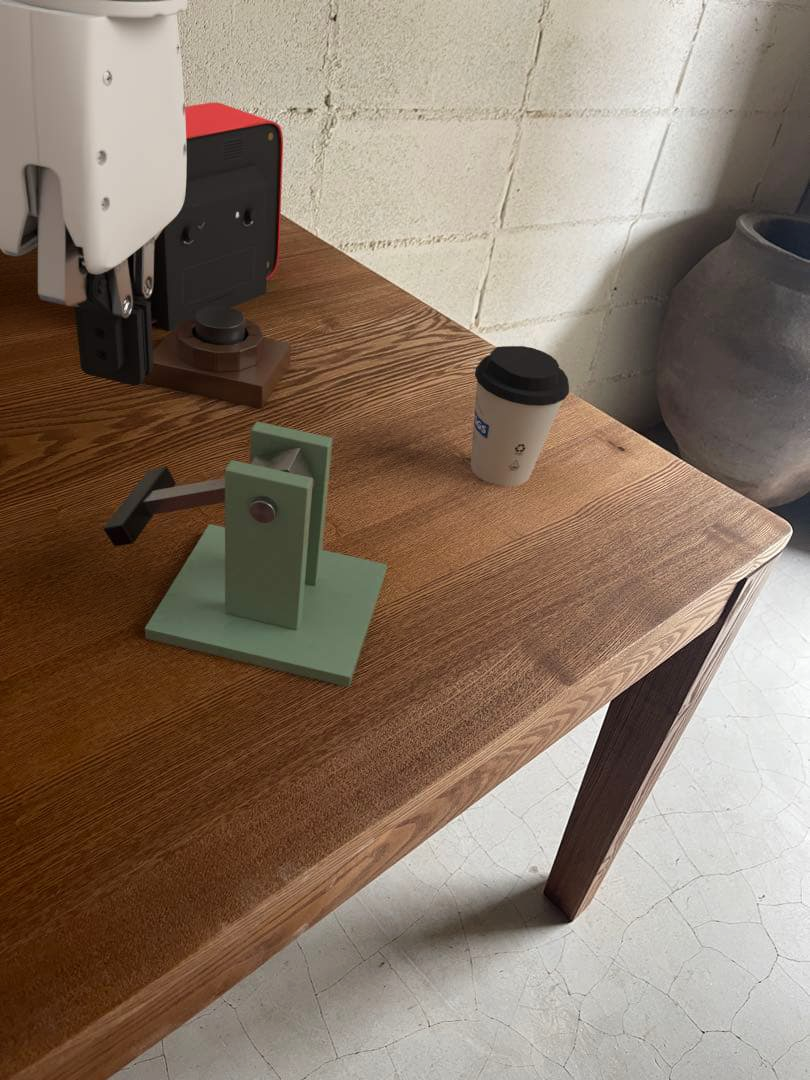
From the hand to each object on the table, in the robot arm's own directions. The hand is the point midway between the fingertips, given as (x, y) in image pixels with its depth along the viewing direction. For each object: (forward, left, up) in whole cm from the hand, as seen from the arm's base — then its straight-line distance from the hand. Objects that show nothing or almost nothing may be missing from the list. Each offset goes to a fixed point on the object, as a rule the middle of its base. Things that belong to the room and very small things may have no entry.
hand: (117, 372), depth 45 cm
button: (-4, +26, -11) cm, 28 cm away
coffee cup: (+21, +20, -15) cm, 32 cm away
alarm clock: (-12, +39, -15) cm, 43 cm away
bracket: (+9, 0, -14) cm, 17 cm away
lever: (+6, 0, -7) cm, 9 cm away
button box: (-4, +26, -14) cm, 30 cm away
